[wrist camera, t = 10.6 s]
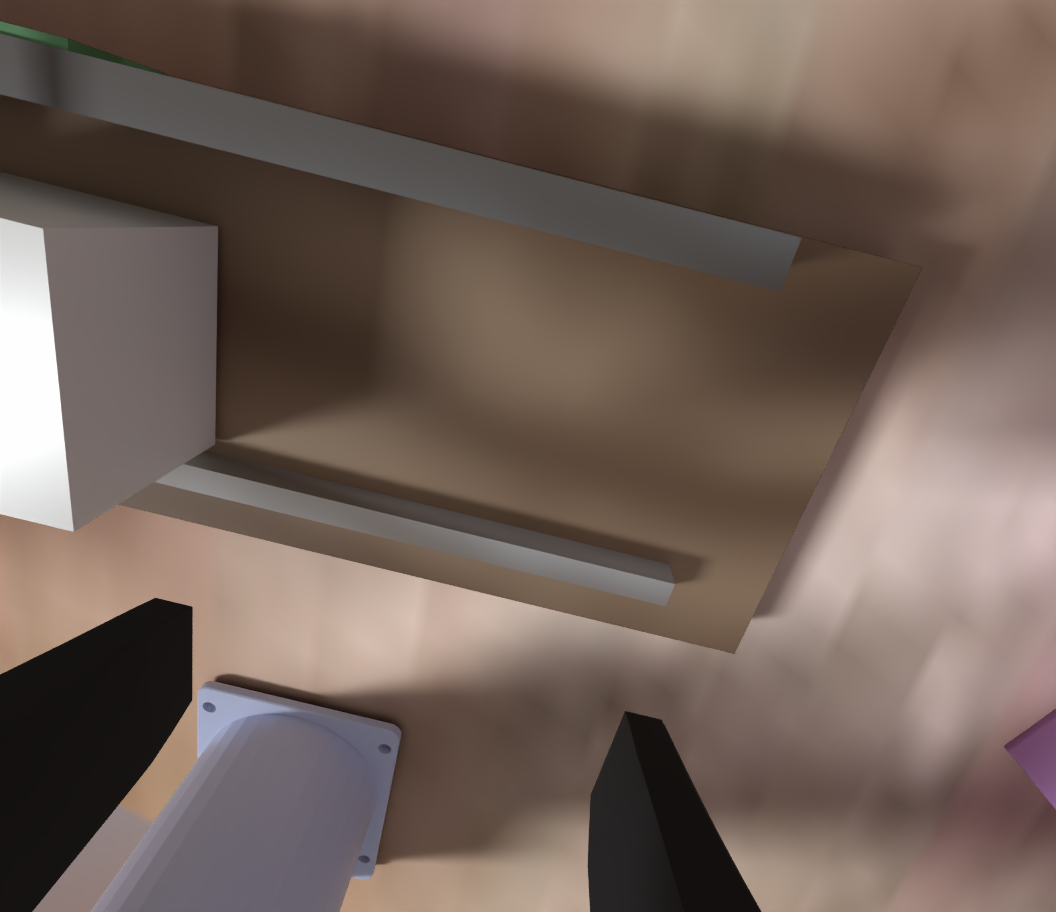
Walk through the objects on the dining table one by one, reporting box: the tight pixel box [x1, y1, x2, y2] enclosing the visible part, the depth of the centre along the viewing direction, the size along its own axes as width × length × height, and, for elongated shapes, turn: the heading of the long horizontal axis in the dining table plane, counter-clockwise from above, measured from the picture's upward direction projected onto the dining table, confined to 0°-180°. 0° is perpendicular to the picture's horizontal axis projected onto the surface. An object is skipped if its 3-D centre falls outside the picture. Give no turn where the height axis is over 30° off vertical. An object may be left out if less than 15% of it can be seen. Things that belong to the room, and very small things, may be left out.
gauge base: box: [0, 21, 922, 654], centre depth 13 cm, size 12×30×8 cm, turn 77°
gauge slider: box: [0, 172, 218, 532], centre depth 12 cm, size 9×6×5 cm
